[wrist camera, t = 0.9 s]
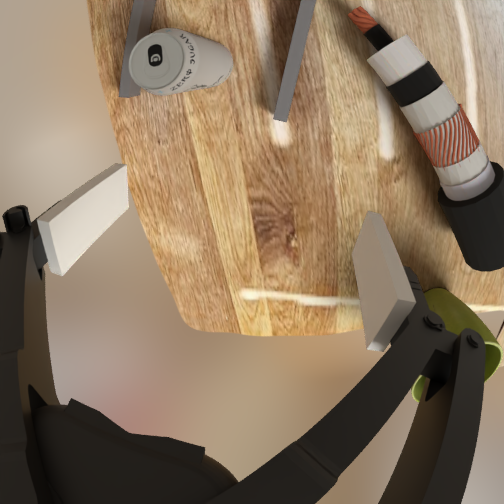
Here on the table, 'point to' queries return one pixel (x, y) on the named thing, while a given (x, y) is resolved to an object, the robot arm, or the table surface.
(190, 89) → the energy drink can
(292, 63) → the guide lane
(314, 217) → the table surface
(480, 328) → the flower pot
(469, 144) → the cable
